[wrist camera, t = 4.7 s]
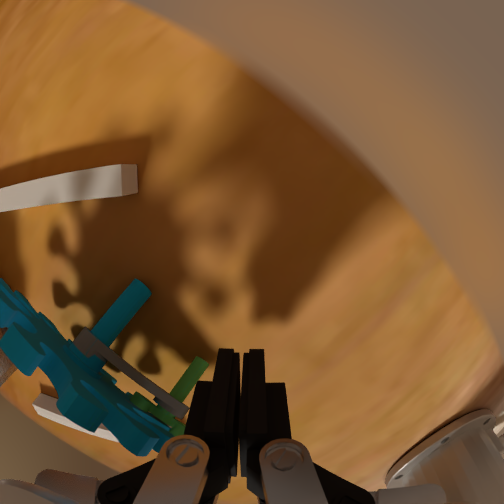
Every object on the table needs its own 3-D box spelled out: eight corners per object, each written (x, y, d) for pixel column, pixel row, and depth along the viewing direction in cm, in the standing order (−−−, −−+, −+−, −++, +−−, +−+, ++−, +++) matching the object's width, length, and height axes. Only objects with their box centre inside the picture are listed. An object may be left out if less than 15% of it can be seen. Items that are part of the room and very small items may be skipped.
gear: (4, 300, 11) (-69, 301, 3) (67, 229, 14) (73, 146, 6) (140, 419, 14) (223, 508, 7) (190, 351, 18) (304, 385, 10)
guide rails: (137, 164, 11) (121, 164, 9) (182, 437, 15) (177, 453, 14) (-16, 195, 11) (-33, 198, 9) (46, 403, 15) (38, 414, 14)
